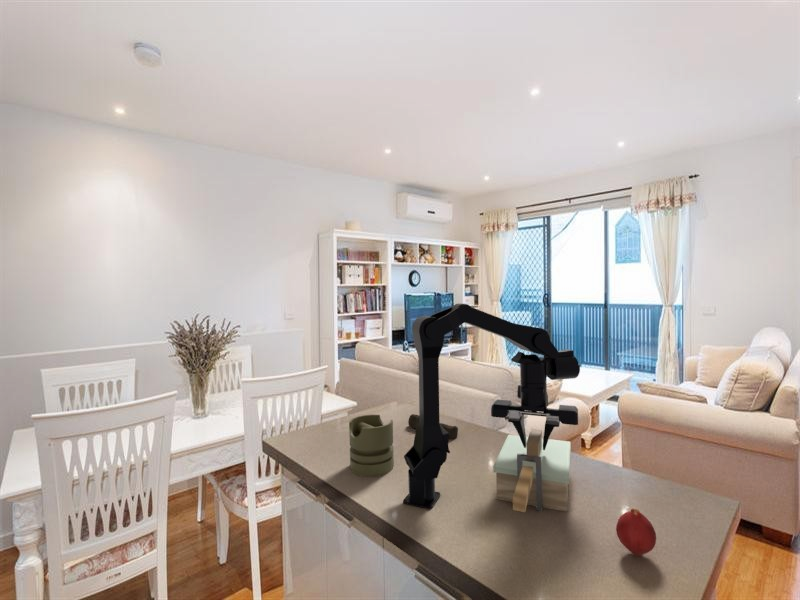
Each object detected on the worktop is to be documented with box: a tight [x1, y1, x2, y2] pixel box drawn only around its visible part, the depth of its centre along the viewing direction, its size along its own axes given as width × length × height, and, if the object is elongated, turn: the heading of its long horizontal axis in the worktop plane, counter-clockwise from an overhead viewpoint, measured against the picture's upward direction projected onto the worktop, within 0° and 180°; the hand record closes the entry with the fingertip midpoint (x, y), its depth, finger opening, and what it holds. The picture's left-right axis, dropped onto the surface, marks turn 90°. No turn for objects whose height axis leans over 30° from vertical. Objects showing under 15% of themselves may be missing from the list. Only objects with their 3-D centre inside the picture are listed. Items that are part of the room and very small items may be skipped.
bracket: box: [517, 454, 543, 512], centre depth 83 cm, size 1×5×11 cm, turn 66°
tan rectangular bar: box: [512, 466, 533, 513], centre depth 75 cm, size 14×2×2 cm, turn 156°
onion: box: [615, 507, 657, 557], centre depth 68 cm, size 6×6×8 cm
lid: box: [493, 428, 572, 485], centre depth 93 cm, size 21×15×6 cm
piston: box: [348, 414, 395, 478], centre depth 105 cm, size 11×12×11 cm
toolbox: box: [495, 472, 569, 513], centre depth 93 cm, size 20×14×6 cm
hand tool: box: [407, 413, 459, 441], centre depth 131 cm, size 19×4×5 cm, turn 46°
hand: (534, 448), depth 93 cm, fingers open, 4 cm apart
